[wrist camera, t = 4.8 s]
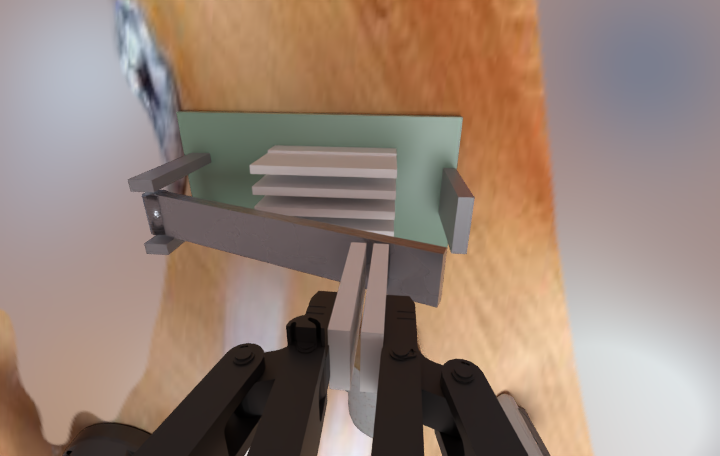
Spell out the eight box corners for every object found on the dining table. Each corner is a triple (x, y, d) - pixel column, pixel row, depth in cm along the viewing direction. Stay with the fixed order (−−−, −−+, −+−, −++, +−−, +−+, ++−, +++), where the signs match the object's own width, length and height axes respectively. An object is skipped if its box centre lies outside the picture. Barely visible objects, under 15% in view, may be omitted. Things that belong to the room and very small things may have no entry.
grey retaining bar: (165, 225, 27) (146, 233, 26) (157, 187, 26) (136, 193, 24) (442, 295, 19) (435, 312, 18) (449, 244, 18) (441, 258, 16)
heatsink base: (205, 239, 35) (148, 292, 27) (182, 110, 30) (103, 126, 22) (444, 250, 34) (462, 310, 25) (460, 115, 29) (489, 135, 20)
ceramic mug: (420, 321, 37) (425, 379, 30) (421, 380, 40) (425, 446, 33) (319, 320, 38) (302, 376, 31) (328, 378, 42) (313, 441, 35)
